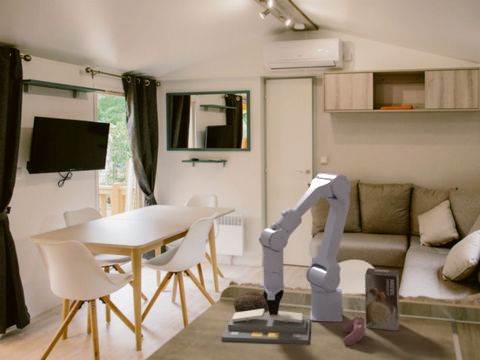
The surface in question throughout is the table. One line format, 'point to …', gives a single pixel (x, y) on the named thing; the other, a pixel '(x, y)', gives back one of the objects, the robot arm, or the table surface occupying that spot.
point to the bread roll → (250, 302)
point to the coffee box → (382, 299)
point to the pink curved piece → (354, 330)
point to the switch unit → (267, 330)
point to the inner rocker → (287, 316)
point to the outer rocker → (248, 315)
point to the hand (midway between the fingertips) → (273, 315)
